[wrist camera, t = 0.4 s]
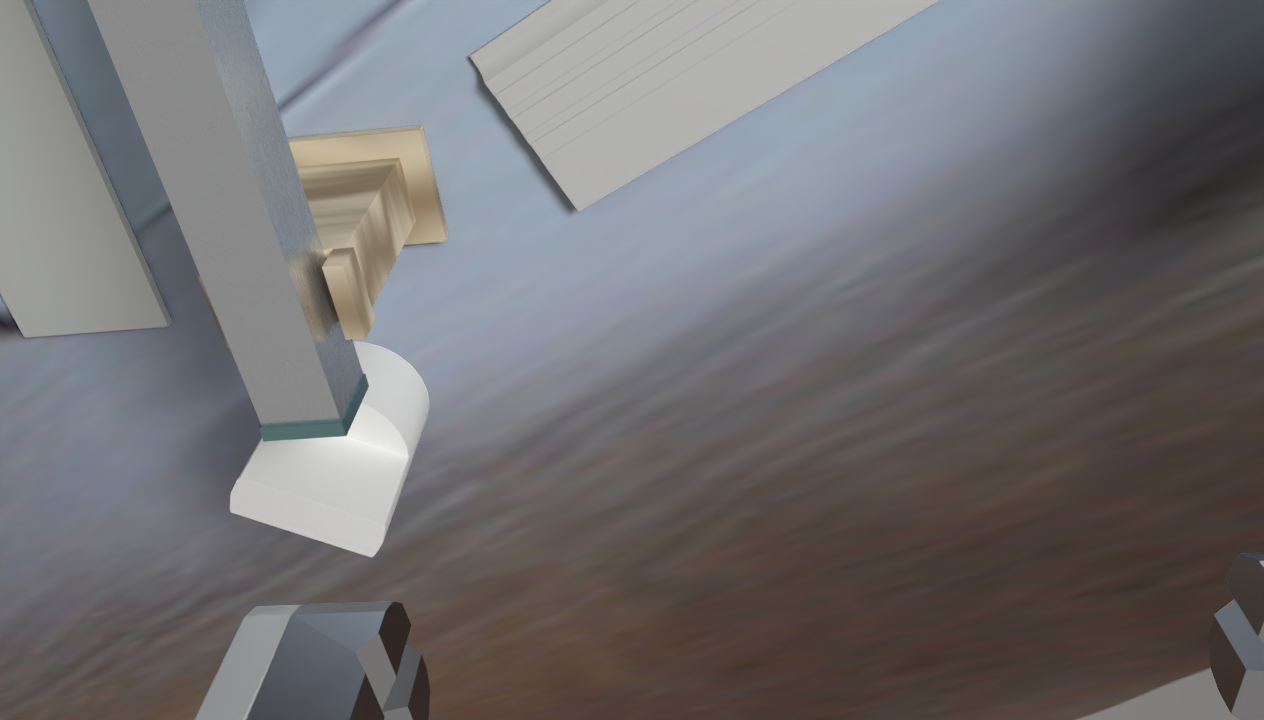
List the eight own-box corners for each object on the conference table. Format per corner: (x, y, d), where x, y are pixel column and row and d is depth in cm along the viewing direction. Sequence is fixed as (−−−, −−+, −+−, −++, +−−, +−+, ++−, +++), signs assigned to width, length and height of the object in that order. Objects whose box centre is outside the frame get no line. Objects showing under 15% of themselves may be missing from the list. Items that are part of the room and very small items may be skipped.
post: (270, 139, 55) (165, 250, 44) (422, 124, 55) (355, 234, 43) (306, 247, 59) (218, 375, 48) (448, 235, 58) (393, 362, 47)
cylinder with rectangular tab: (285, 421, 67) (217, 544, 57) (314, 321, 62) (245, 437, 52) (408, 463, 69) (363, 590, 59) (445, 370, 64) (403, 490, 54)
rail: (32, -295, 34) (-41, -296, 30) (144, -311, 34) (83, -314, 30) (291, 391, 51) (263, 441, 47) (368, 385, 50) (346, 436, 47)
